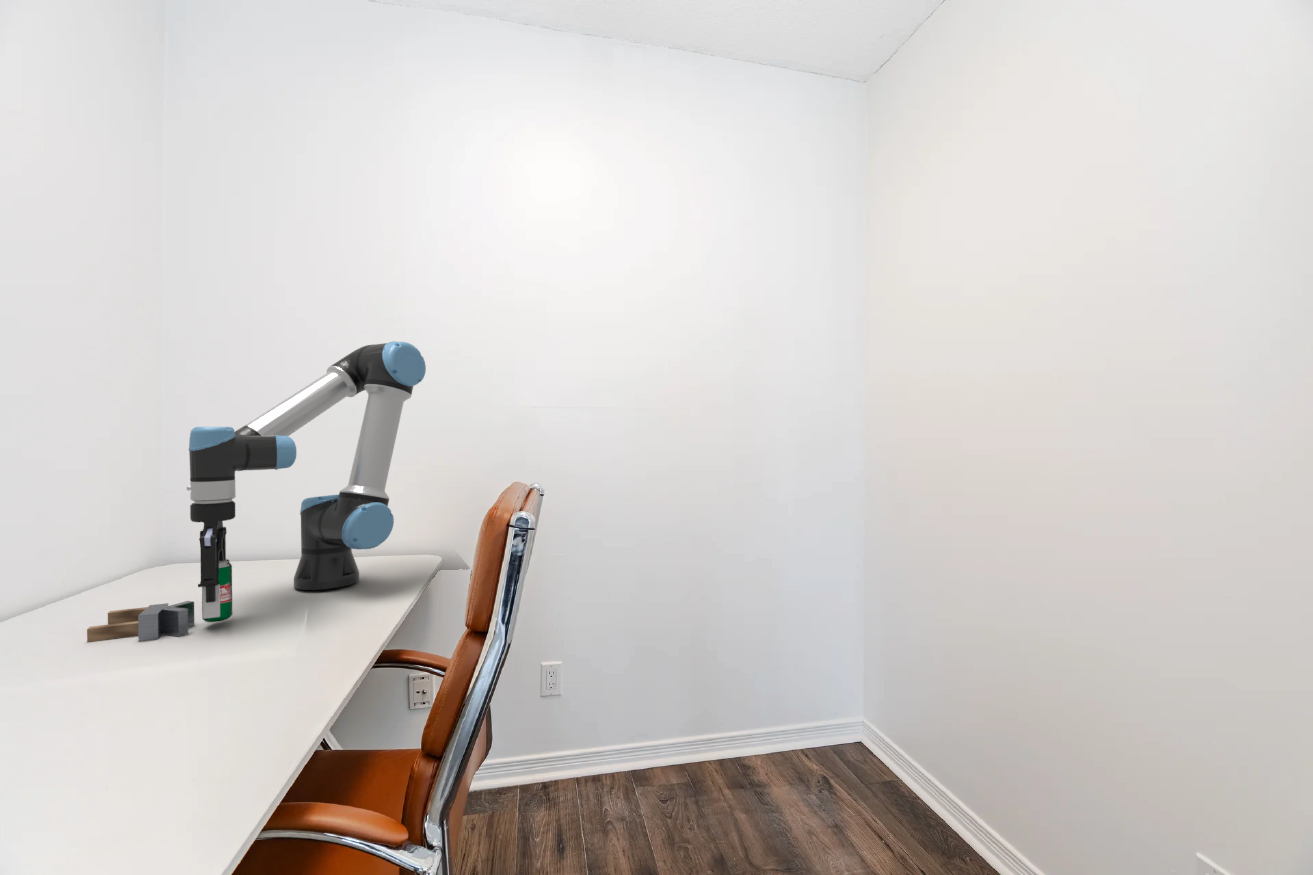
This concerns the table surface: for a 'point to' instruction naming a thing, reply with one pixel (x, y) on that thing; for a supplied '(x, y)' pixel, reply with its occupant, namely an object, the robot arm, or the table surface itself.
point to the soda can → (223, 591)
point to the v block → (165, 620)
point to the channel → (116, 625)
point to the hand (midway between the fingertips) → (214, 613)
